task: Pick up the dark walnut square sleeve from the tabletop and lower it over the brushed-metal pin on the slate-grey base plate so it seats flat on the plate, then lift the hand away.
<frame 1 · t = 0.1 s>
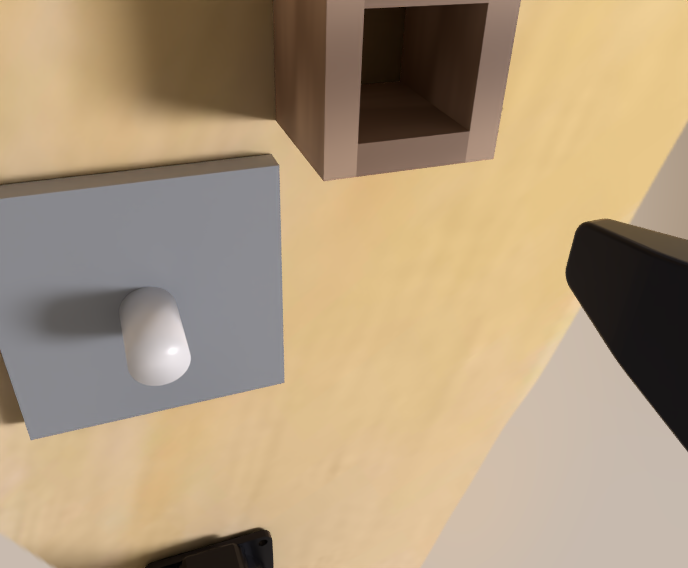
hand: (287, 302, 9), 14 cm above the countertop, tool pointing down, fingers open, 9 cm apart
walnut sleeve: (355, 31, 22), on the countertop
pin plate: (145, 294, 24), on the countertop
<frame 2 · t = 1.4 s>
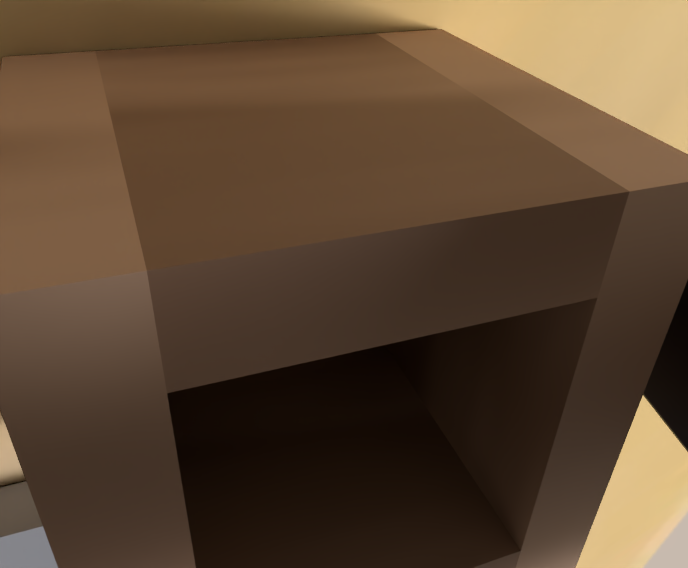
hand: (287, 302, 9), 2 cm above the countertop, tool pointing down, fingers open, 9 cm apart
walnut sleeve: (254, 233, 10), on the countertop
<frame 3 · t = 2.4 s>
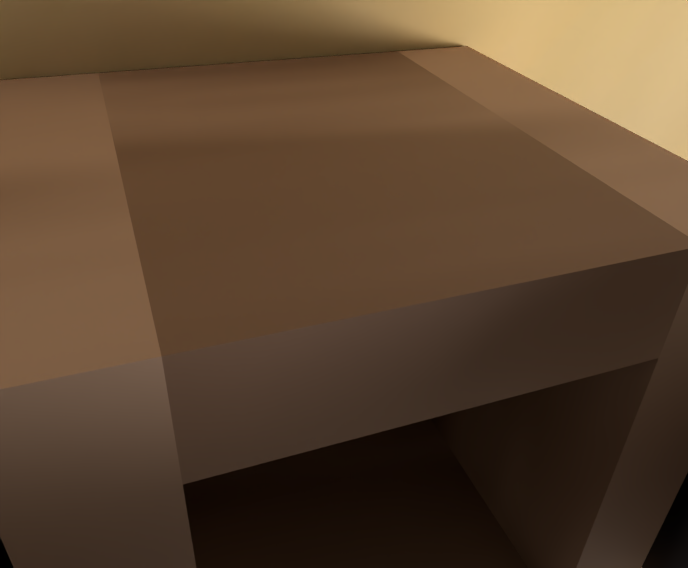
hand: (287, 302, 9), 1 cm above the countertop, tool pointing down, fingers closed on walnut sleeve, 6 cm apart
walnut sleeve: (267, 262, 9), on the countertop, touching gripper
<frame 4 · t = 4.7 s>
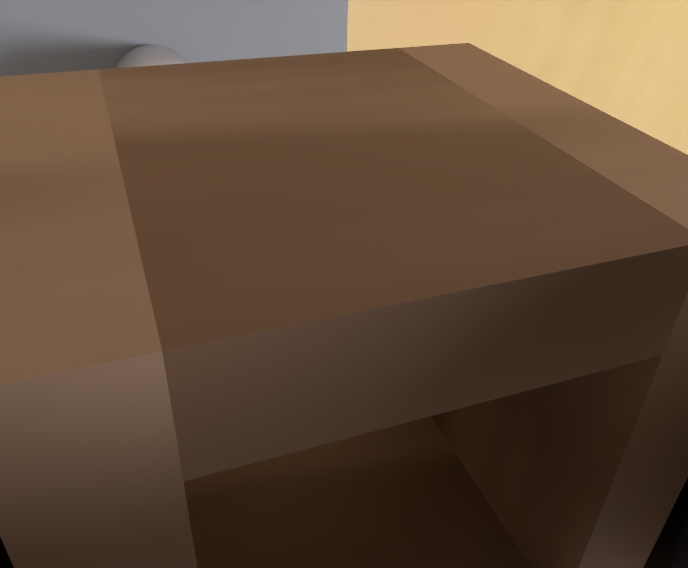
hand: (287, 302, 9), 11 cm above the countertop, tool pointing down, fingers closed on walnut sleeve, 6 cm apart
walnut sleeve: (267, 260, 9), point 10 cm above the countertop, touching gripper
pin plate: (148, 74, 17), on the countertop
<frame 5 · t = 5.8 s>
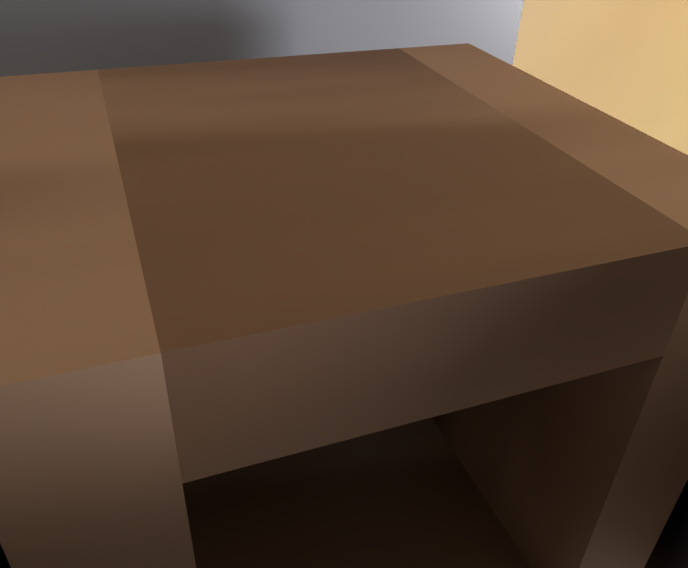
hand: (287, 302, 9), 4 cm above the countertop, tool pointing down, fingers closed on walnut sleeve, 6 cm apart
walnut sleeve: (267, 260, 9), point 3 cm above the countertop, touching gripper
pin plate: (221, 171, 12), on the countertop
when the fingers open (3 cm above the countertop, at t = 6.9 s): walnut sleeve stays where it is, resting on pin plate.
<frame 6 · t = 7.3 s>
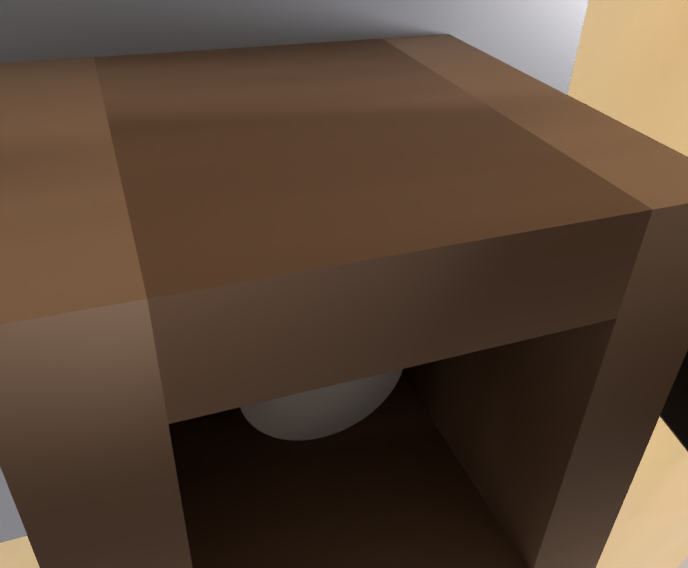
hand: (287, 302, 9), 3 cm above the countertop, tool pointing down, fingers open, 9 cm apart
walnut sleeve: (257, 243, 10), point 1 cm above the countertop, touching pin plate
pin plate: (242, 213, 10), on the countertop
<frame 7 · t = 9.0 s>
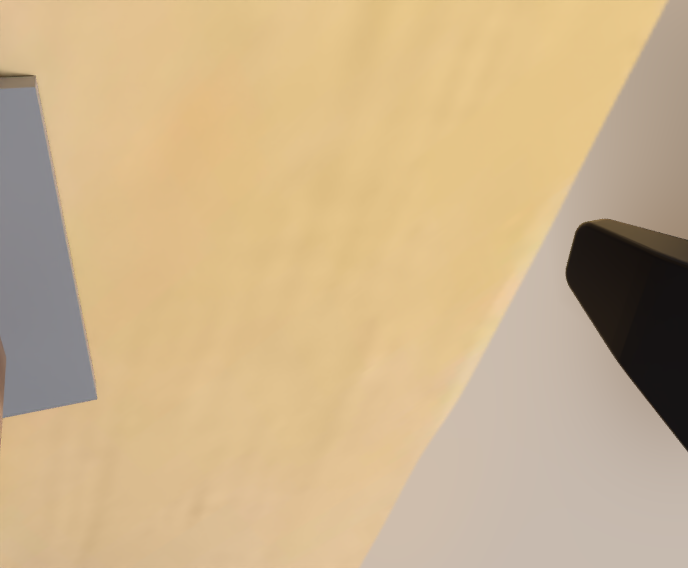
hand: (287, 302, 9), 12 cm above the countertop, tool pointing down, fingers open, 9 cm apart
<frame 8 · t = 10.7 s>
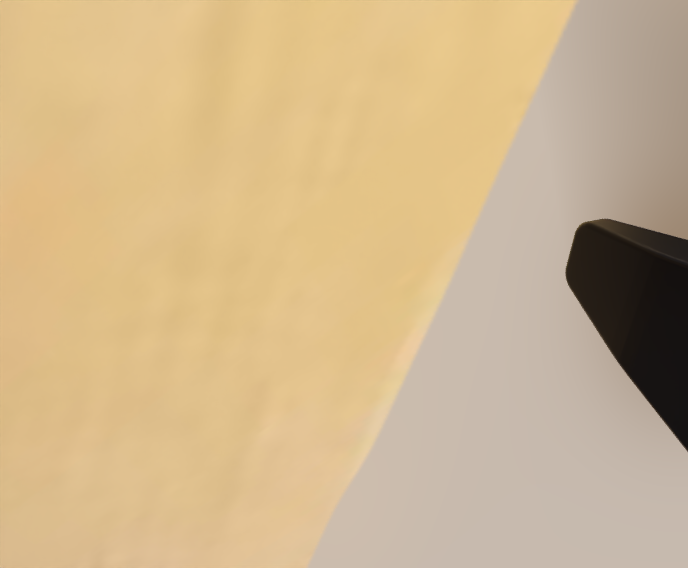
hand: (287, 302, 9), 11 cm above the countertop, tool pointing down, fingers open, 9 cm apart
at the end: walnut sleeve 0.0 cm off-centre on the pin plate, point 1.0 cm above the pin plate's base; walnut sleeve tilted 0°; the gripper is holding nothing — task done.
